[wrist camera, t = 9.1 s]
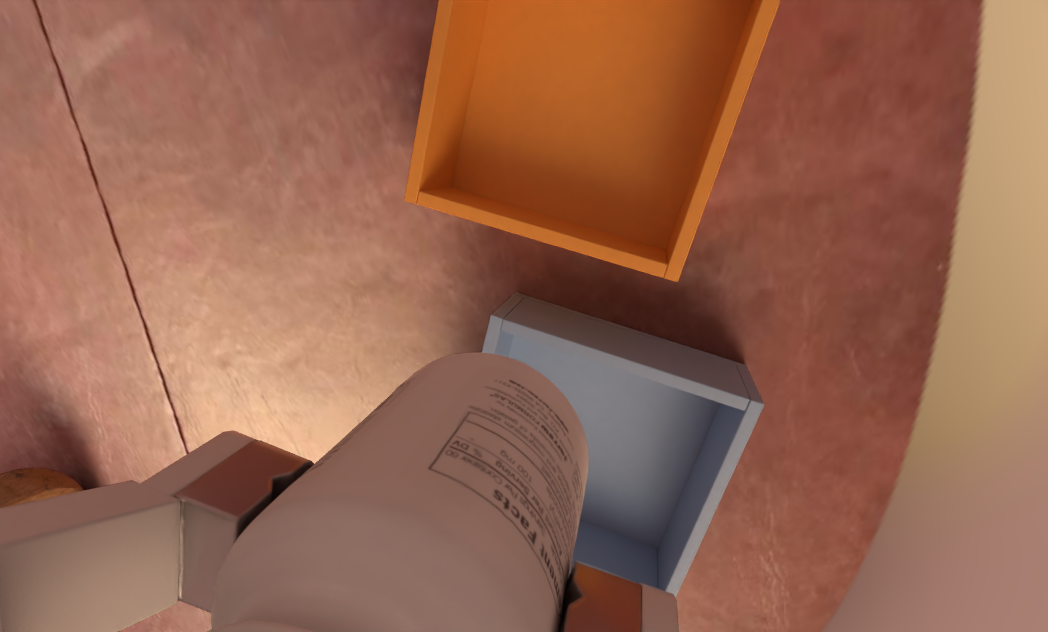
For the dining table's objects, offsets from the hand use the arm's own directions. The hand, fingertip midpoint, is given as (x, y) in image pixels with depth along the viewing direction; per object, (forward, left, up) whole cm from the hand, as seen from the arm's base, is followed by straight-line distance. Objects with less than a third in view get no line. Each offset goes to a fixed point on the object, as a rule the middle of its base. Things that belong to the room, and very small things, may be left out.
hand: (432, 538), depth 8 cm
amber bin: (+2, -8, -20) cm, 21 cm away
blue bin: (-3, +8, -20) cm, 21 cm away
